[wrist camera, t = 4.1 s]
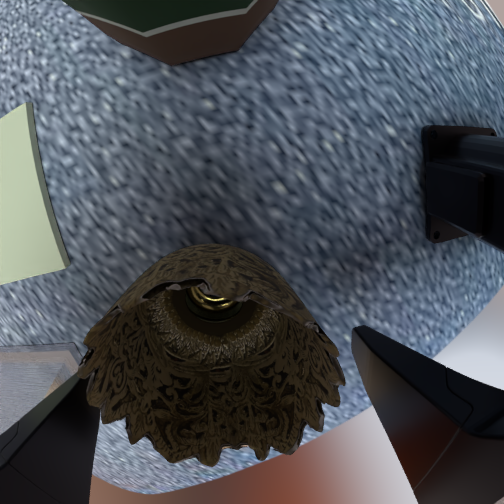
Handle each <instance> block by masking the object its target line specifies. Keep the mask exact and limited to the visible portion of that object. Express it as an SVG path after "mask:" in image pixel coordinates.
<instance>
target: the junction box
mask: <svg viewBox="0 0 504 504" xmlns="http://www.w3.org/2000/svg"><path fill="white" fill-rule="evenodd" d="M82 359H83V358H82V356H81V355H80V353H79V351H78V349H77V348H76V346H75V344H74V343H64V344H49V345H30V346H0V435H1V434H2V433H3V432H5V431H6V430H7V429H8V428H10V427H11V426H12V425H13V424H14V423H16V422H17V421H18V420H20V418H22V417H23V416H24V415H25V414H26V413H28V412H29V411H30V410H31V409H32V408H34V407H35V406H36V405H37V404H38V403H40V402H41V401H42V400H43V399H44V398H46V397H47V396H48V395H49V394H51V393H52V392H53V391H54V390H55V389H57V388H58V387H59V386H60V385H61V384H63V383H64V382H65V381H66V380H68V379H69V378H70V377H71V376H72V375H74V374H75V373H76V372H77V371H78V367H79V364H80V363H81V360H82Z"/></svg>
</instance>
